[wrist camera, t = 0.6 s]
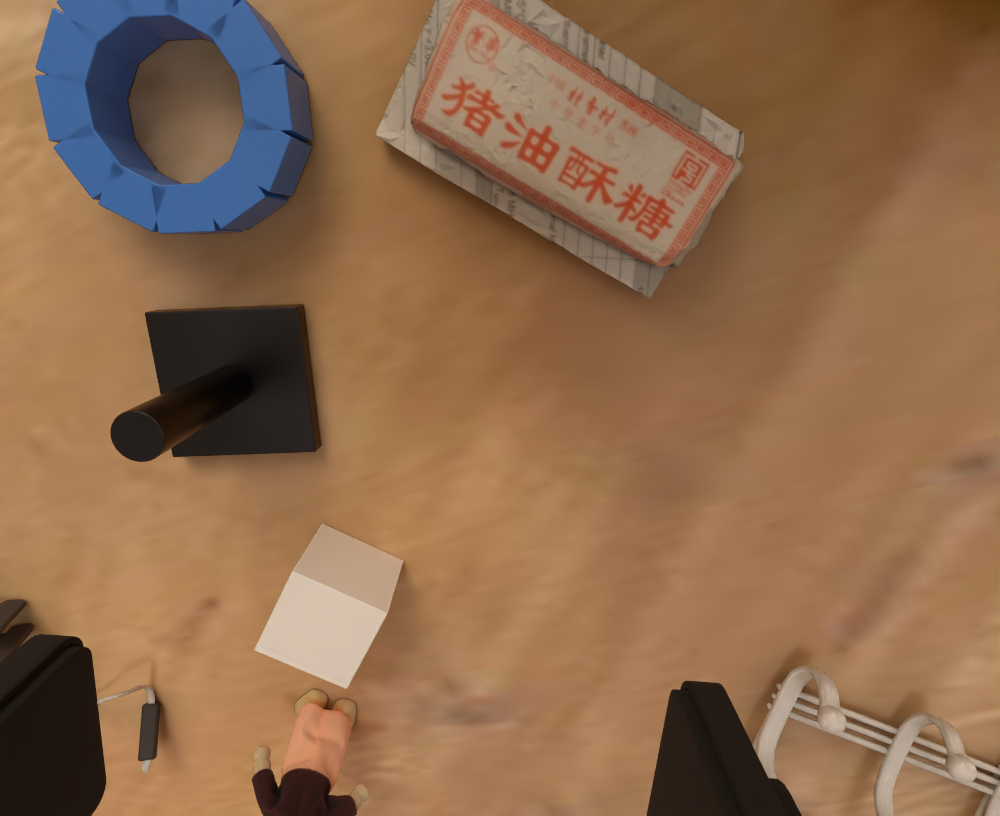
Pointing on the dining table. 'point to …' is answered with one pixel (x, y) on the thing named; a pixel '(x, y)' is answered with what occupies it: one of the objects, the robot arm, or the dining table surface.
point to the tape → (107, 124)
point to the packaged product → (563, 135)
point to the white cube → (331, 606)
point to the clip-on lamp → (14, 637)
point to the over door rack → (996, 808)
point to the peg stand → (225, 385)
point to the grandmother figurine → (310, 763)
